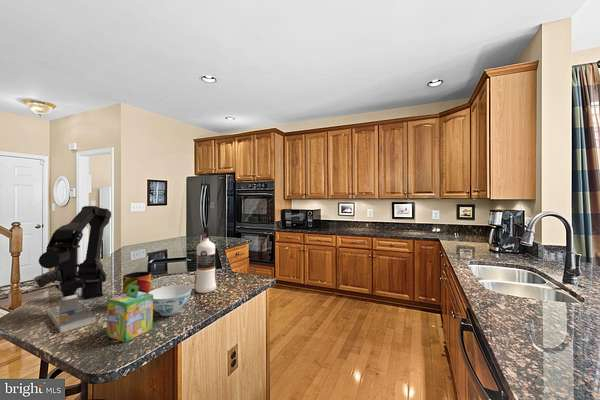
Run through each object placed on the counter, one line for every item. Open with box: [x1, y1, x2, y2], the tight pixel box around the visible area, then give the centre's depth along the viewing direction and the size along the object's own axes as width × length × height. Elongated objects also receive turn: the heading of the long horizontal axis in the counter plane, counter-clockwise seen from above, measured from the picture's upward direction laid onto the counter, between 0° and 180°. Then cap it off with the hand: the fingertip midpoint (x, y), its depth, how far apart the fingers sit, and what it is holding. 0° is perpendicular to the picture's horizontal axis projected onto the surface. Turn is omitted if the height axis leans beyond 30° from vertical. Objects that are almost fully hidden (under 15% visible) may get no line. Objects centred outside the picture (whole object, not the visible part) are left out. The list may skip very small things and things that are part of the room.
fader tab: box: [59, 294, 80, 313], centre depth 93 cm, size 5×3×5 cm, turn 142°
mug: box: [122, 271, 152, 295], centre depth 106 cm, size 10×14×12 cm
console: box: [47, 301, 97, 333], centre depth 91 cm, size 9×22×4 cm, turn 52°
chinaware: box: [149, 284, 192, 317], centre depth 96 cm, size 15×15×8 cm
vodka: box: [194, 226, 217, 294], centre depth 120 cm, size 9×9×30 cm
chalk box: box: [106, 285, 154, 343], centre depth 81 cm, size 9×9×15 cm
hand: (66, 304), depth 95 cm, fingers closed
